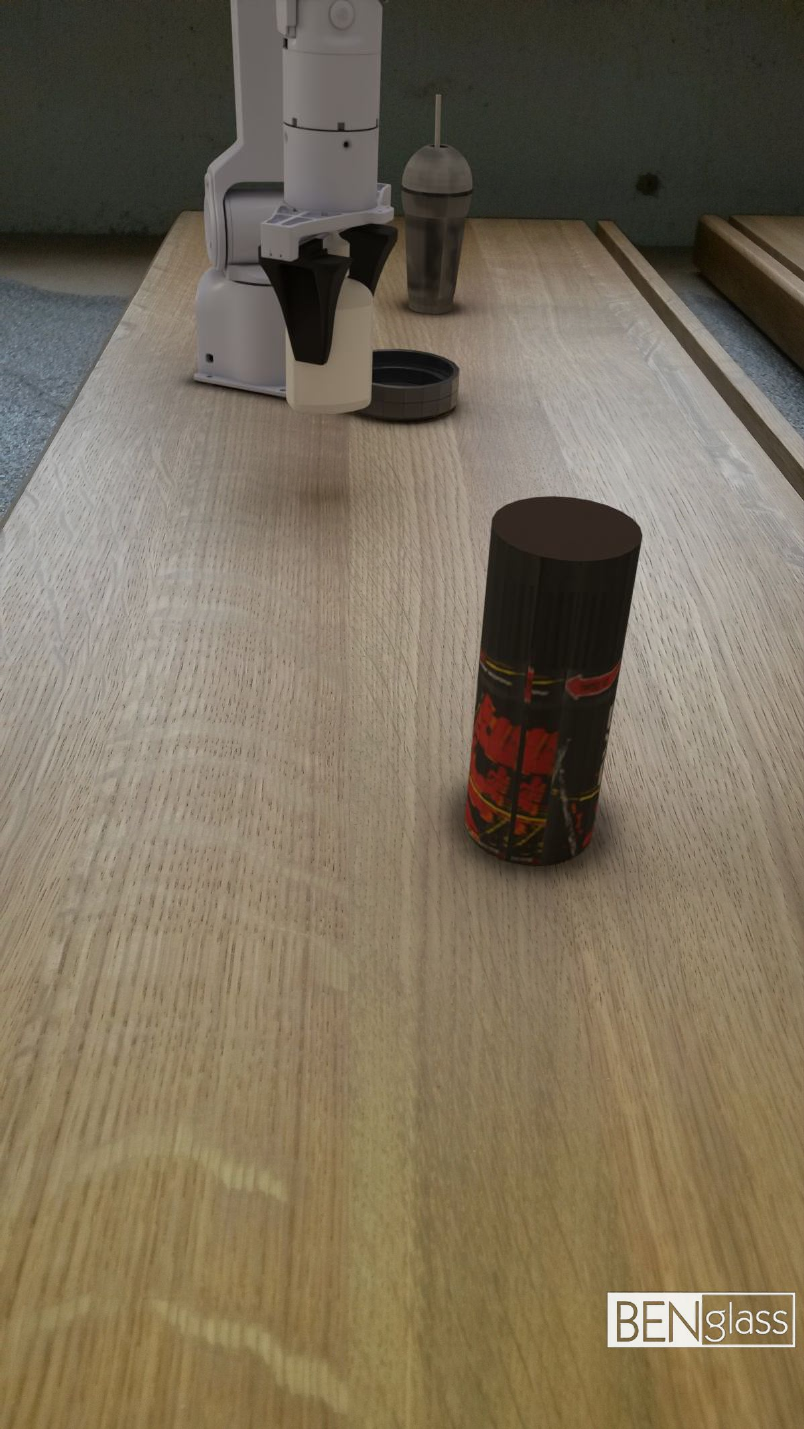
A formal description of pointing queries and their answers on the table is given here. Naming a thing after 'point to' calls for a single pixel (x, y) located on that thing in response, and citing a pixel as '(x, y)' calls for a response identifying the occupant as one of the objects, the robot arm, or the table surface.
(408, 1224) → the table surface
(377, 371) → the dish
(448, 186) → the beverage cup
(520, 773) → the deodorant
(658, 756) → the table surface
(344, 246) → the eye dropper bottle
